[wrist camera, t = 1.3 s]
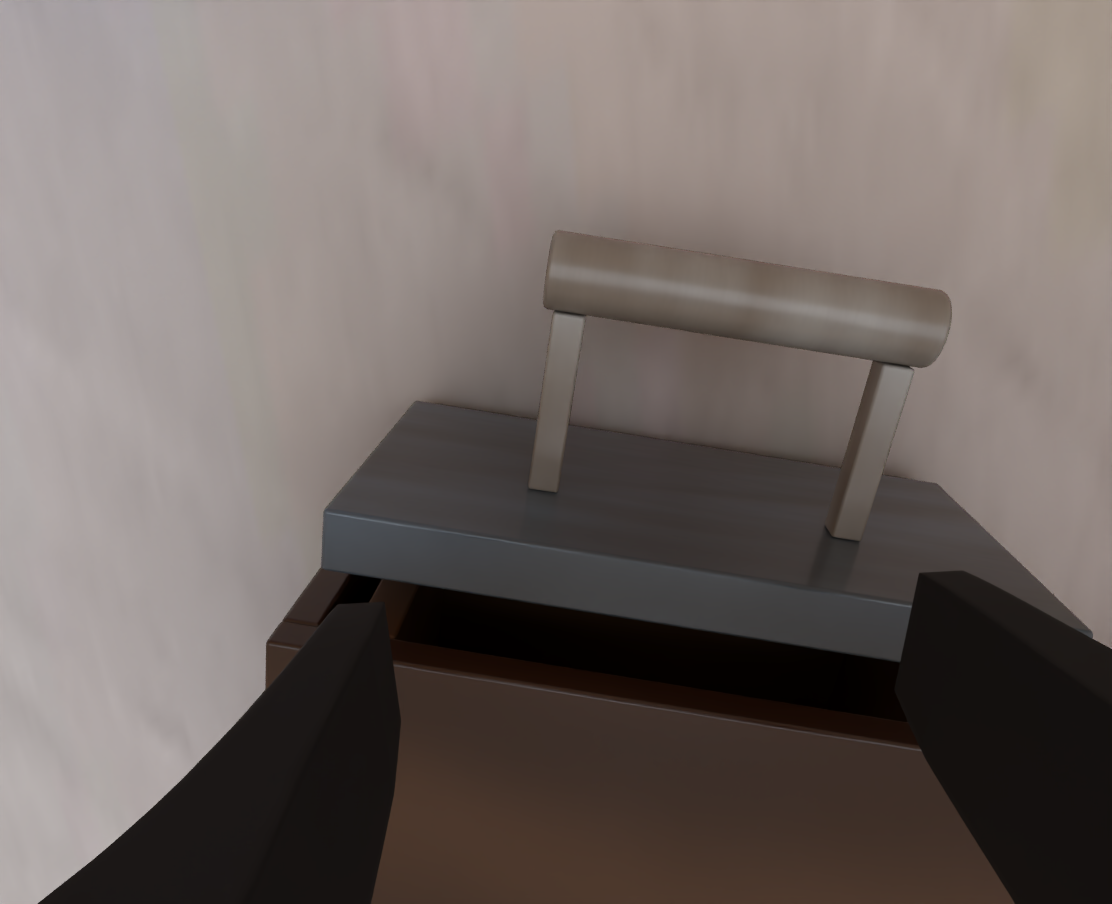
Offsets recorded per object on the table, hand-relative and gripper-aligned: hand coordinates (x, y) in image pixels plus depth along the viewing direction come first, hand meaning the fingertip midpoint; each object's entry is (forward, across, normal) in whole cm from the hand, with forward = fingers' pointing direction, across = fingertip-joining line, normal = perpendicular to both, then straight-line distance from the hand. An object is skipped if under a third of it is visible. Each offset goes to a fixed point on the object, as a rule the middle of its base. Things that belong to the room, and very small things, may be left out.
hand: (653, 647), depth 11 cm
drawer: (+9, -2, +5) cm, 10 cm away
